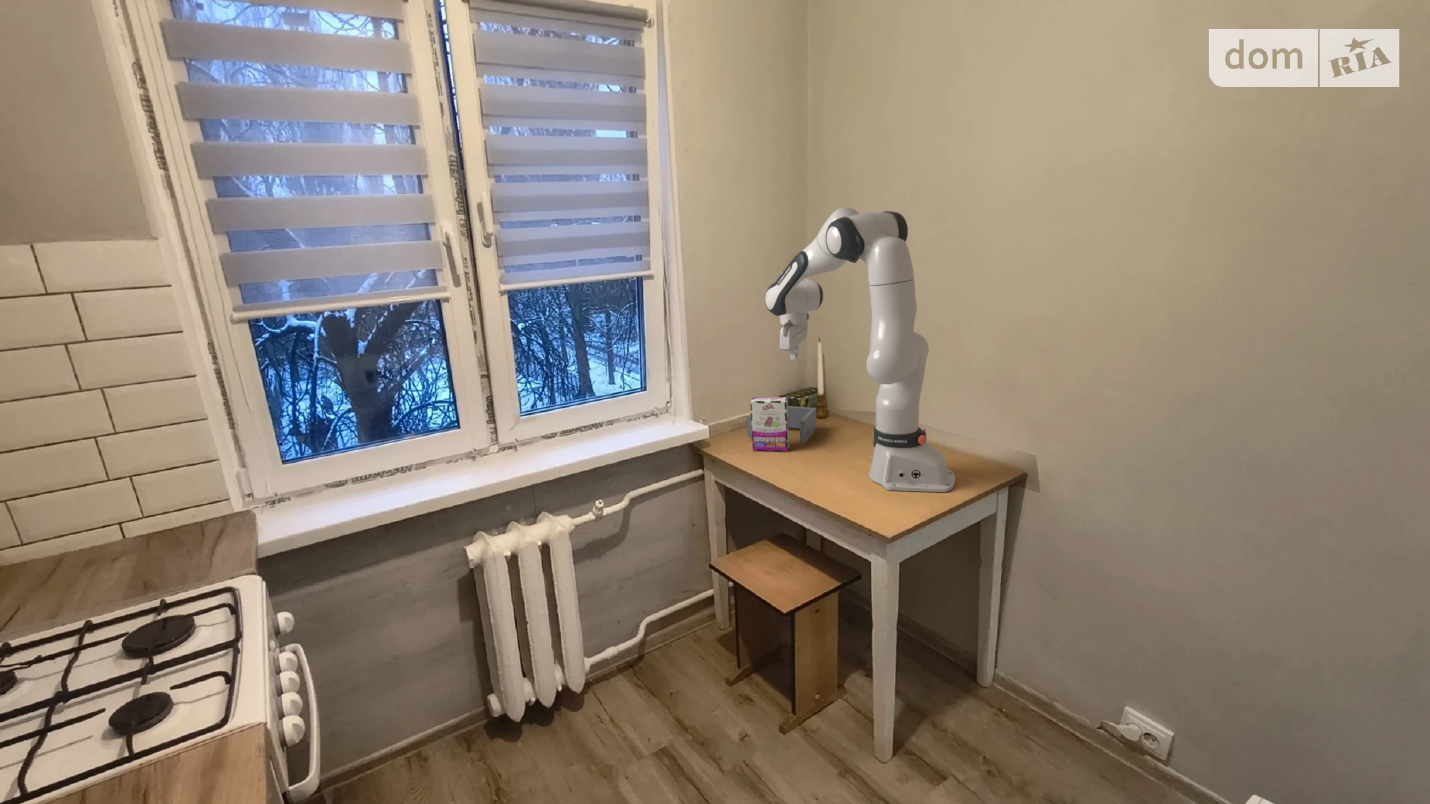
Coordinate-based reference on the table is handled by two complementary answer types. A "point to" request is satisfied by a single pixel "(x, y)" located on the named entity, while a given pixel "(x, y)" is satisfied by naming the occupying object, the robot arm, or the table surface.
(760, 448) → the candy bar box
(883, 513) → the table surface
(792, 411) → the gray u-shaped holder
